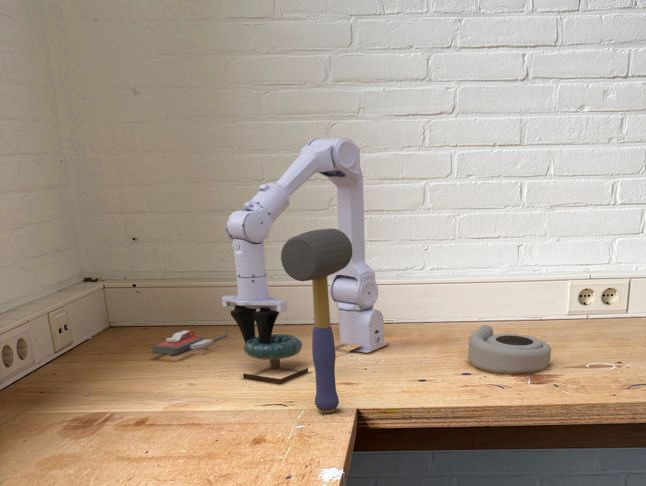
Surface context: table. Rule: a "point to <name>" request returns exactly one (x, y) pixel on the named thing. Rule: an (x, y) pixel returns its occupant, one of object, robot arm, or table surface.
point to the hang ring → (273, 347)
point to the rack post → (275, 366)
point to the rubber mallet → (319, 298)
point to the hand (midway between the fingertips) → (257, 345)
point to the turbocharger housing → (507, 352)
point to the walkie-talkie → (183, 343)
